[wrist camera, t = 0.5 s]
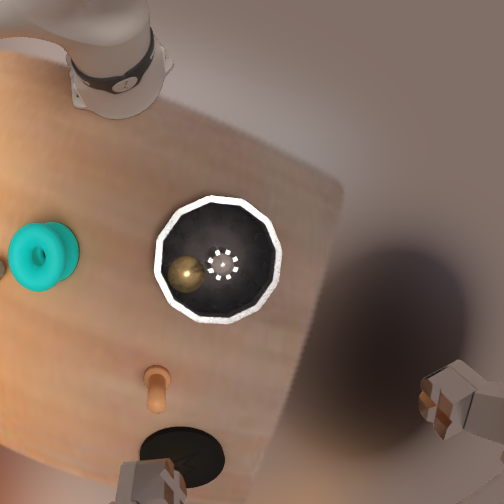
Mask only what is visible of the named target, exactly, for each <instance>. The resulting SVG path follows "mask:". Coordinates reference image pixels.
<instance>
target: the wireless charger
mask: <svg viewBox="0 0 504 504" xmlns="http://www.w3.org/2000/svg"><path fill="white" fill-rule="evenodd" d="M164 458H170V460H171V461H172V462H173V464H174V470H176V471H178V472H180V474H181V475H182V477H183V479H184V481H185V485H186V488H194V487H198V486H202V485H204V484H207V483H209V482H210V481H212V480H214V479H215V478H216V477H217V476H218V475H219V474H220V473H221V471H222V469H223V467H224V464H225V457H224V453H223V449H222V447H221V445H220V443H219V442H218V441H217V440H216V439H215V438H214V437H213V436H211V435H210V434H208V433H206V432H204V431H202V430H199V429H195V428H190V427H170V428H165V429H162V430H159V431H157V432H155V433H153V434H152V435H150V436H149V437H148V438H147V439H146V440H145V441H144V443H143V444H142V446H141V450H140V461H142V460H154V459H164Z"/></svg>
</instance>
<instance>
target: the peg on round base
mask: <svg viewBox="0 0 504 504" xmlns="http://www.w3.org/2000/svg"><path fill="white" fill-rule="evenodd" d="M170 382H171V380H170V373H169V372H168V370H167V369H165V368H164V367H162V366H151V367H149V368H148V369H147V370H146V372H145V375H144V383H145V385H146V387H147V388H148V397H147V408H148V410H149V411H150V412H152V413H155V414H159V413H162V412H164V411H165V409H166V389H168V387H169V386H170Z"/></svg>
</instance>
